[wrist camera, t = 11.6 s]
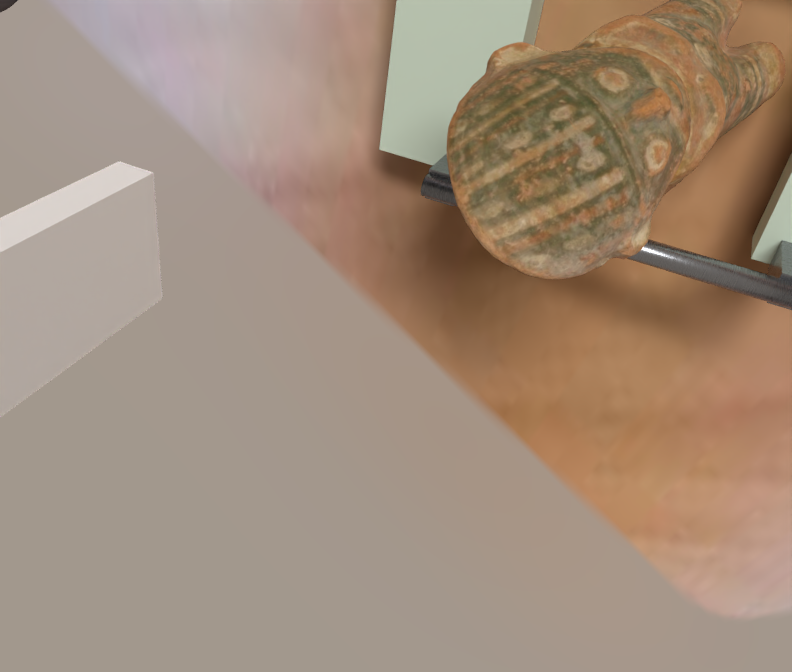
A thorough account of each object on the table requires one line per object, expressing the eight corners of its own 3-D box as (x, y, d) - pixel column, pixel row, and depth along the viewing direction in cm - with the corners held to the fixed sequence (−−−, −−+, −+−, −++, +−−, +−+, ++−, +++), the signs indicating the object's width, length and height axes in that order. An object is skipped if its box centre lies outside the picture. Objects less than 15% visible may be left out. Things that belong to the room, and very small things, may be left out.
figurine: (799, 66, 30) (810, 198, 18) (634, 185, 35) (562, 347, 24) (667, -100, 29) (592, -71, 17) (517, 48, 34) (382, 147, 22)
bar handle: (449, 174, 36) (419, 203, 33) (453, 146, 35) (423, 174, 32) (801, 278, 32) (804, 322, 29) (816, 249, 31) (820, 292, 28)
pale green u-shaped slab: (398, 135, 39) (379, 149, 37) (453, -284, 29) (430, -294, 27) (893, 277, 32) (899, 302, 31) (1183, -195, 22) (1218, -199, 21)
